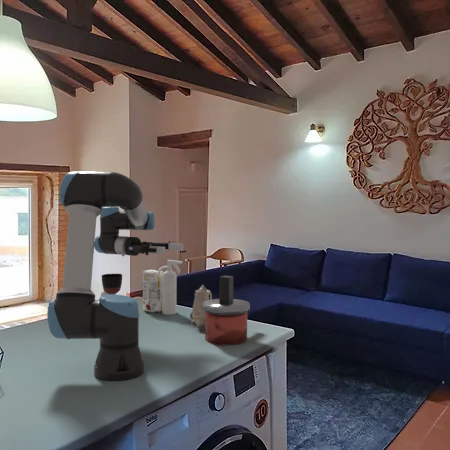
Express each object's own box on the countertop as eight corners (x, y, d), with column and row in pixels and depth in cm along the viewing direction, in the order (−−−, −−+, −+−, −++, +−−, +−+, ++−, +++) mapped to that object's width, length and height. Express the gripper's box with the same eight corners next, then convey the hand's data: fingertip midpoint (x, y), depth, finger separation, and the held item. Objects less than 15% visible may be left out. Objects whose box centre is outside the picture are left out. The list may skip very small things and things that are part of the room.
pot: (237, 347, 171) (237, 315, 170) (196, 341, 178) (197, 309, 177) (263, 329, 195) (263, 300, 194) (226, 324, 202) (226, 296, 201)
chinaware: (208, 337, 190) (212, 296, 188) (173, 327, 197) (177, 288, 195) (237, 321, 215) (241, 285, 213) (205, 312, 222) (209, 278, 220)
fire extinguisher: (155, 310, 225) (156, 258, 223) (180, 311, 225) (182, 259, 223) (153, 314, 218) (154, 260, 216) (179, 315, 218) (181, 261, 216)
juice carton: (154, 313, 220) (154, 272, 219) (140, 310, 225) (140, 270, 224) (165, 310, 227) (165, 270, 226) (151, 307, 231) (151, 268, 230)
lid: (238, 315, 169) (238, 282, 169) (194, 310, 177) (194, 278, 176) (256, 305, 186) (257, 274, 185) (215, 300, 193) (215, 271, 193)
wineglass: (100, 319, 208) (100, 274, 207) (120, 317, 212) (120, 273, 210) (103, 324, 201) (103, 277, 200) (124, 322, 204) (124, 275, 203)
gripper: (146, 252, 203) (189, 255, 195) (109, 258, 181) (156, 262, 172) (146, 234, 203) (190, 236, 194) (108, 239, 180) (156, 241, 172)
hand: (174, 248), depth 183 cm, fingers open, 13 cm apart
